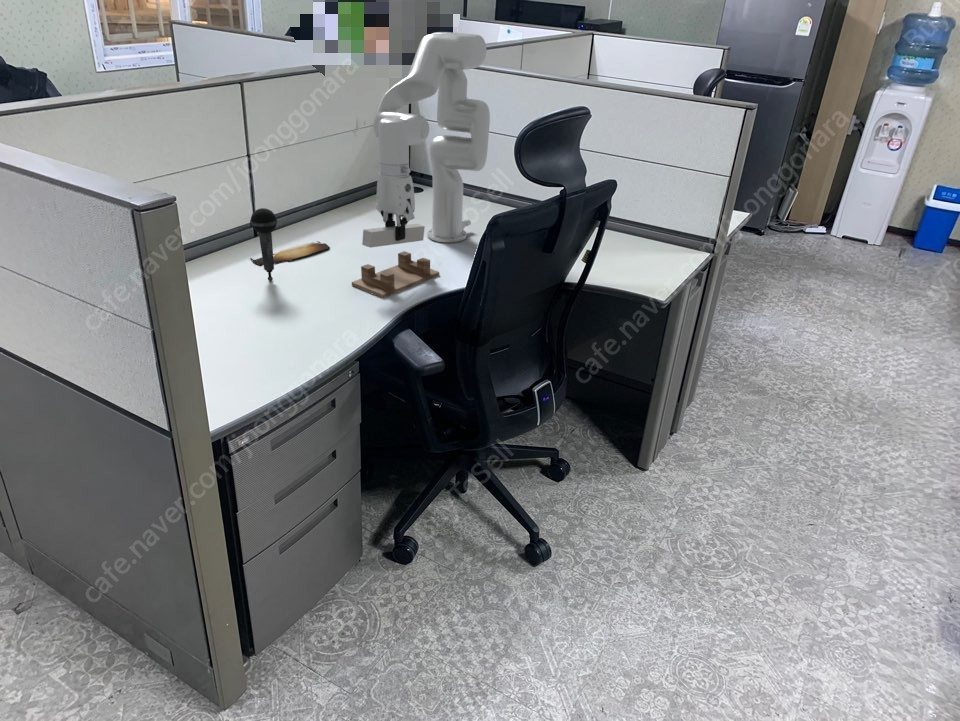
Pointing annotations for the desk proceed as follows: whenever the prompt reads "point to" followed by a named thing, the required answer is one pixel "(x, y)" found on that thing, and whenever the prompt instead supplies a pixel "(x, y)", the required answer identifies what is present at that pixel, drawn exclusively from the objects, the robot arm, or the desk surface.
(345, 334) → the desk surface
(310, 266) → the desk surface
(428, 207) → the desk surface
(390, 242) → the clay strip
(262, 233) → the microphone
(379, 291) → the wooden pegged board
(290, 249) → the parchment
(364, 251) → the desk surface
